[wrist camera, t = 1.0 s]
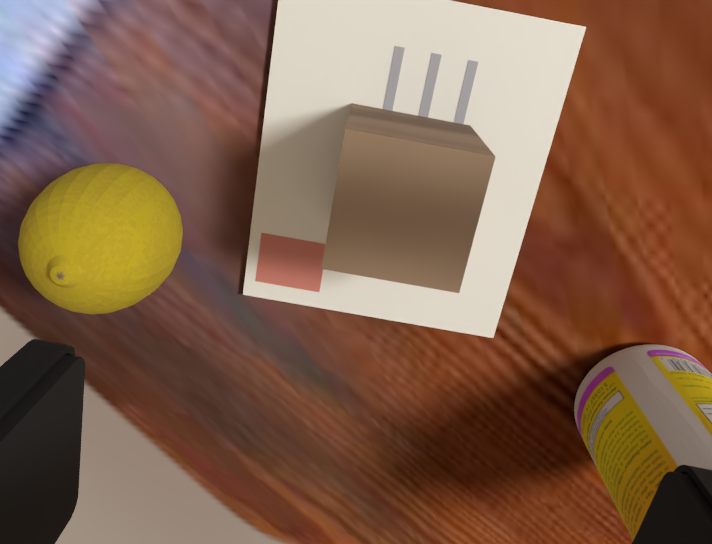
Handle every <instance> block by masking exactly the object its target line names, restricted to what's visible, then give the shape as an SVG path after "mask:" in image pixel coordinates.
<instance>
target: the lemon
mask: <svg viewBox="0 0 712 544" xmlns="http://www.w3.org/2000/svg"><path fill="white" fill-rule="evenodd" d="M182 235H183V229H182V222H181V216H180V213H179V210H178V208H177V206H176V203H175V201H174V199H173V198H172V196H171V195H170V194H169V192H168V191H167V189H166V188H165V187H164V186H163V185H162V184H161V183H159V182H158V181H157V180H156V179H155V178H154V177H152V176H150V175H149V174H147V173H145V172H143V171H141V170H140V169H138V168H134V167H130V166H127V165H123V164H114V163H97V164H92V165H88V166H83V167H79V168H76V169H73V170H71V171H69V172H68V173H66V174H64V175H62V176H61V177H59V178H57V179H55V180H54V181H52V182H51V183H50V184H49V185H48V186H47V187H46V188H45V189H44V190H43V191H42V192H41V193H40V194H39V195H38V196H37V197H36V199H35V200H34V201H33V202H32V204H31V205H30V207H29V209H28V211H27V213H26V215H25V217H24V219H23V222H22V224H21V228H20V234H19V240H18V247H19V255H20V261H21V264H22V267H23V269H24V272H25V274H26V276H27V278H28V279H29V281H30V282H31V283H32V285H33V286H34V288H35V289H36V290H37V291H38V292H40V293H41V294H42V295H43V296H44V297H45V298H46V299H48V300H49V301H51V302H52V303H54V304H56V305H57V306H59V307H62V308H65V309H67V310H70V311H73V312H79V313H85V314H102V313H111V312H114V311H117V310H120V309H123V308H126V307H129V306H132V305H134V304H136V303H137V302H139V301H140V300H142V299H143V298H145V297H146V296H148V295H149V294H151V293H152V292H153V291H155V290H156V289H157V288H158V287H159V286H160V285H161V284H162V282H163V281H164V280H165V279H166V278H167V276H168V275H169V274H170V273H171V271H172V269H173V267H174V265H175V263H176V260H177V258H178V256H179V253H180V250H181V244H182Z"/></svg>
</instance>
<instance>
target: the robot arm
mask: <svg viewBox="0 0 712 544" xmlns="http://www.w3.org/2000/svg"><path fill="white" fill-rule="evenodd" d="M84 375H85V362H84V359H83V358H81V357H76V356H75V351H74V348H73V347H72V346H68V345H63V344H58V343H53V342H48V341H43V340H37V339H33V340H31V341H30V342H28V343H27V344H26V345H25V346H24V347H23V348H21V349H20V350H19V351H18V352H17V353H16V354H14V355H13V356H12V357H11V358H10V359H9V360H8V361H6V362H5V363H4V364H3V365H2V366H1V367H0V544H55V542H56V541H57V539H58V538H59V536H60V534H61V533H62V531H63V530H64V528H65V527H66V525H67V523H68V522H69V520H70V518H71V516H72V514H73V512H74V509H75V506H76V503H77V498H78V488H79V469H80V450H81V431H82V430H81V429H82V411H83V394H84V393H83V392H84ZM632 544H712V470H709V469H704V468H699V467H694V466H689V465H680V466H678V467H677V468H676V469H675V470H674V472H672V471H671V472H667V473H666V474H665V475H664V476H663V478H662V480H661V482H660V484H659V486H658V489H657V491H656V493H655V495H654V497H653V499H652V502H651V504H650V506H649V508H648V510H647V512H646V515H645V517H644V519H643V521H642V523H641V525H640V528H639V530H638V532H637V534H636V536H635V538H634V541H633V543H632Z"/></svg>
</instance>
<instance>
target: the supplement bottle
mask: <svg viewBox="0 0 712 544" xmlns="http://www.w3.org/2000/svg"><path fill="white" fill-rule="evenodd" d="M574 416H575V421H576V425H577V427H578V430H579V433H580V435H581V437H582V439H583V441H584V443H585V445H586V447H587V449H588V451H589V453H590V456H591V458H592V460H593V461H594V464H595V466H596V468H597V470H598V472H599V474H600V476H601V478H602V480H603V482H604V484H605V486H606V488H607V490H608V492H609V494H610V496H611V498H612V500H613V502H614V504H615V506H616V508H617V510H618V512H619V514H620V516H621V518H622V520H623V522H624V524H625V526H626V528H627V530H628V532H629V534H630V536H631V538H632V540H633V541H634V538H635V536H636V534H637V532H638V530H639V528H640V525H641V523H642V521H643V519H644V517H645V515H646V512H647V510H648V508H649V506H650V504H651V502H652V499H653V497H654V495H655V493H656V491H657V489H658V486H659V484H660V482H661V480H662V478H663V476H664V475H665V474H666V473H667V472H671V471H672V472H674V470H675V469H676V468H677V467H678V466H680V465H689V466H694V467H699V468H704V469H709V470H712V374H711V373H710V372H709V371H708V370H707V369H706V368H705V367H704V366H703V365H702V364H701V363H700V362H699V361H697V360H696V359H695V358H694V357H692V356H691V355H689V354H688V353H686V352H684V351H682V350H679V349H676V348H673V347H670V346H665V345H657V344H645V345H637V346H633V347H629V348H625V349H623V350H620V351H617V352H615V353H613V354H611V355H609V356H608V357H606V358H604V359H603V360H601V361H600V362H599V363H598V364H596V365H595V366H594V367H593V368H592V369H591V370H590V371H589V372H588V374H587V375H586V376H585V378H584V379H583V381H582V383H581V384H580V386H579V389H578V391H577V394H576V398H575V404H574Z"/></svg>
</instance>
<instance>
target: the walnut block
mask: <svg viewBox="0 0 712 544" xmlns="http://www.w3.org/2000/svg"><path fill="white" fill-rule="evenodd" d="M494 161H495V155H494V154H493V153H492V152H491V150H490V149H489V148H488V147H487V145H486V144H485V143H484V142H483V140H482V139H481V138H480V137H479V136H478V134H477V133H476V132H475V131H474V129H473V128H472V127H471V126H470V125H465V124H460V123H454V122H449V121H444V120H438V119H433V118H428V117H422V116H417V115H412V114H406V113H401V112H396V111H390V110H385V109H380V108H374V107H369V106H364V105H358V104H353V103H352V104H351V108H350V112H349V116H348V120H347V123H346V127H345V132H344V138H343V144H342V150H341V156H340V162H339V168H338V173H337V179H336V185H335V191H334V197H333V203H332V209H331V214H330V220H329V226H328V232H327V238H326V244H325V250H324V255H323V261H322V267H321V269H325V270H330V271H336V272H342V273H347V274H353V275H358V276H364V277H370V278H375V279H381V280H387V281H392V282H398V283H404V284H409V285H415V286H421V287H426V288H432V289H438V290H443V291H449V292H455V293H459V292H460V288H461V284H462V281H463V277H464V273H465V269H466V266H467V262H468V258H469V254H470V251H471V247H472V243H473V239H474V236H475V232H476V228H477V224H478V221H479V217H480V213H481V209H482V206H483V202H484V198H485V194H486V191H487V187H488V183H489V179H490V176H491V172H492V168H493V165H494Z"/></svg>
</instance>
